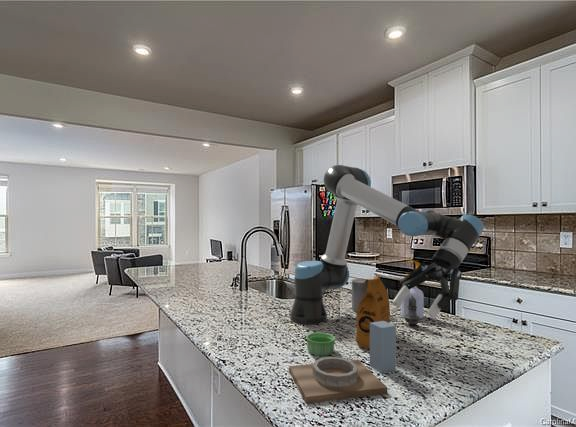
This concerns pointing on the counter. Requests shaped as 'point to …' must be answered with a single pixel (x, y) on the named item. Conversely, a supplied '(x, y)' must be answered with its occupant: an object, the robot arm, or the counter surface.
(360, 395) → the collar plate
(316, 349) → the ramekin
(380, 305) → the coffee package
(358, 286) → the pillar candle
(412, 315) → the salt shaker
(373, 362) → the slate peg
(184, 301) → the counter surface
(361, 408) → the counter surface
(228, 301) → the counter surface
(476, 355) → the counter surface
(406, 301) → the soap bottle
